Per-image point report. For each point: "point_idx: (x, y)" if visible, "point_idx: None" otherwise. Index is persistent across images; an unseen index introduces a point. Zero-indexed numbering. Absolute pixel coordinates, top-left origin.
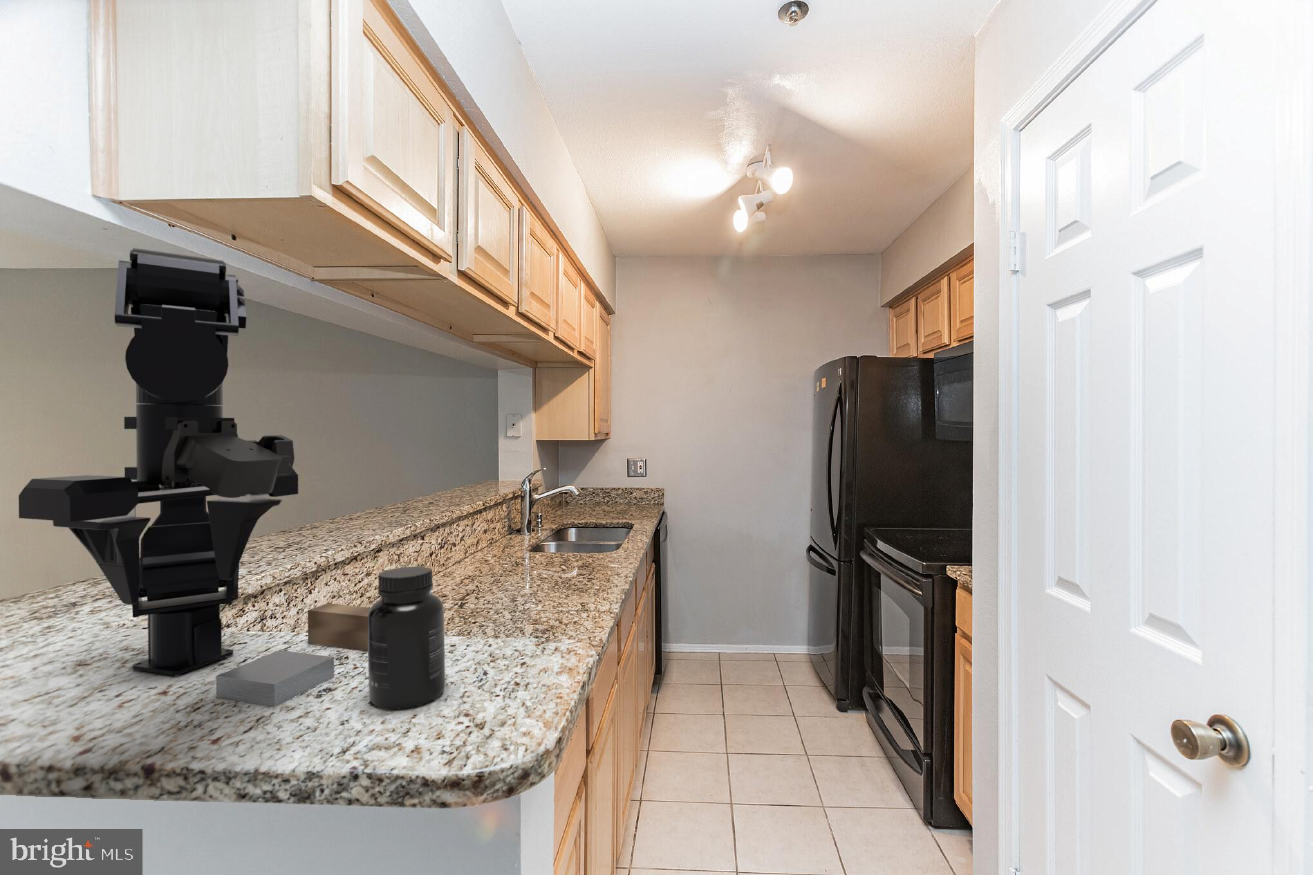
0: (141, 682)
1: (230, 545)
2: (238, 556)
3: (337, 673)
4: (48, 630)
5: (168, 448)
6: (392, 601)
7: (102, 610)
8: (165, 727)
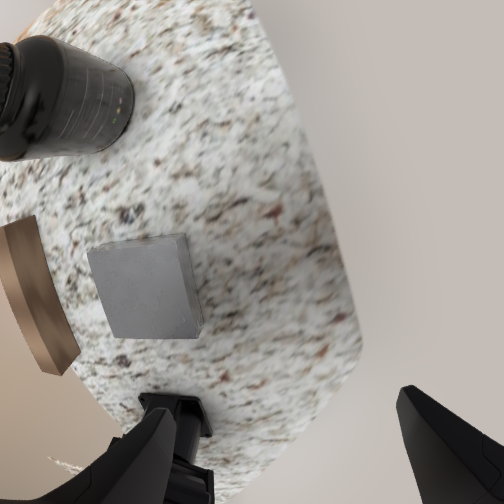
0: (222, 410)
1: (135, 481)
2: (127, 443)
3: None
4: None
5: None
6: (24, 69)
7: None
8: (276, 300)
